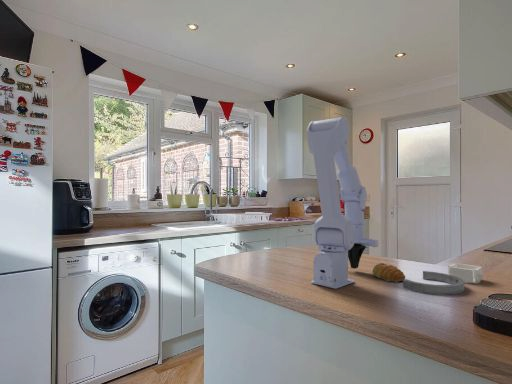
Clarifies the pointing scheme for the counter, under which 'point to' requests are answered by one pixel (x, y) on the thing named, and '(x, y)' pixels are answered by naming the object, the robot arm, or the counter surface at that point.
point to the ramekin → (466, 272)
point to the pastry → (388, 272)
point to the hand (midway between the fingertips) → (354, 267)
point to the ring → (454, 288)
